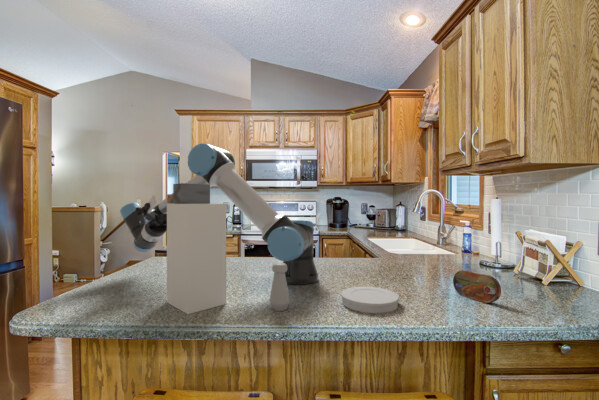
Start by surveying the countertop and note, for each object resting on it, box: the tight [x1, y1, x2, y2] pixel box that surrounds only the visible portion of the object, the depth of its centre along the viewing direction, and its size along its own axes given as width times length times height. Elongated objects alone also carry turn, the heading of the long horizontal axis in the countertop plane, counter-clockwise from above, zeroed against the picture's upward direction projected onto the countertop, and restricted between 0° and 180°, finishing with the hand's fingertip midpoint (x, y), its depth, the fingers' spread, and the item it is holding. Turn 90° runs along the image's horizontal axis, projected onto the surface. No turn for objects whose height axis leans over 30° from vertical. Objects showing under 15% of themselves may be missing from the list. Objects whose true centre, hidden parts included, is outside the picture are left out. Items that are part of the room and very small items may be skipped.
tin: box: [452, 269, 502, 304], centre depth 99 cm, size 15×3×8 cm, turn 23°
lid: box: [340, 286, 400, 314], centre depth 96 cm, size 17×20×3 cm
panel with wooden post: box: [166, 182, 211, 204], centre depth 101 cm, size 18×9×6 cm, turn 45°
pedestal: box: [166, 203, 227, 315], centre depth 94 cm, size 14×12×30 cm
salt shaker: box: [269, 262, 291, 312], centre depth 90 cm, size 6×6×13 cm
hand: (175, 199), depth 104 cm, fingers open, 13 cm apart
